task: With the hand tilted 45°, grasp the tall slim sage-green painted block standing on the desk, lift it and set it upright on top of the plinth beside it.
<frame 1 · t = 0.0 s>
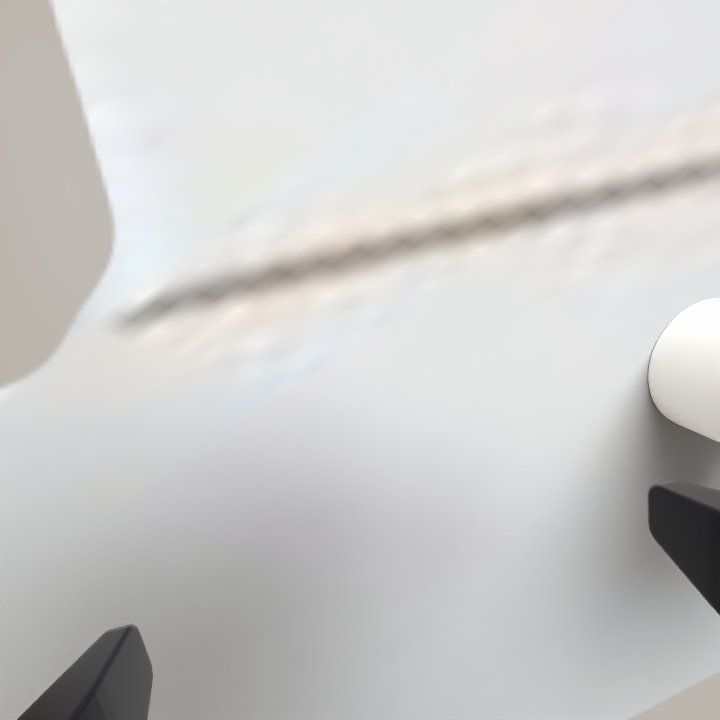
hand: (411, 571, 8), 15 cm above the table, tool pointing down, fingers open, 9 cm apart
cylindrical container: (704, 363, 26), on the table
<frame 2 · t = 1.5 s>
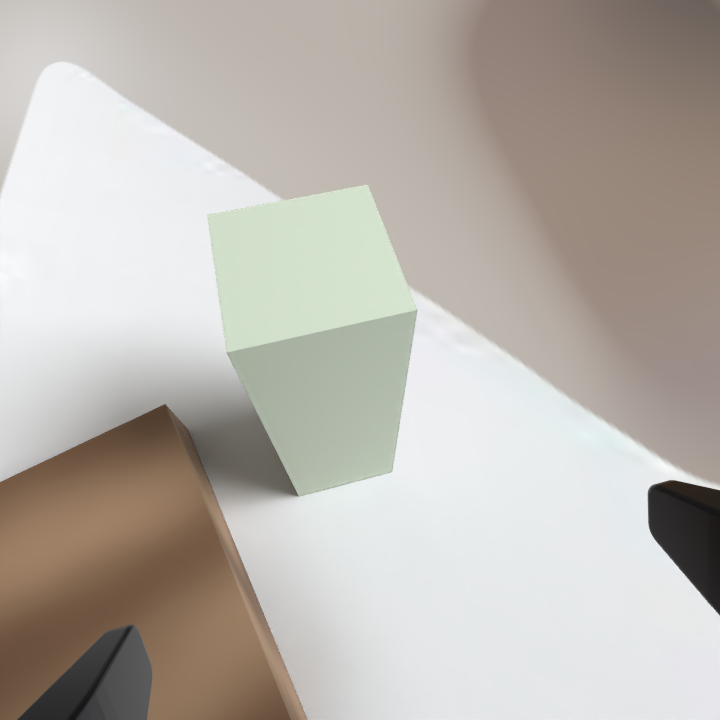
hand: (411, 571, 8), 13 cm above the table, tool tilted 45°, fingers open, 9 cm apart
block: (335, 439, 23), on the table
plinth: (140, 619, 20), on the table
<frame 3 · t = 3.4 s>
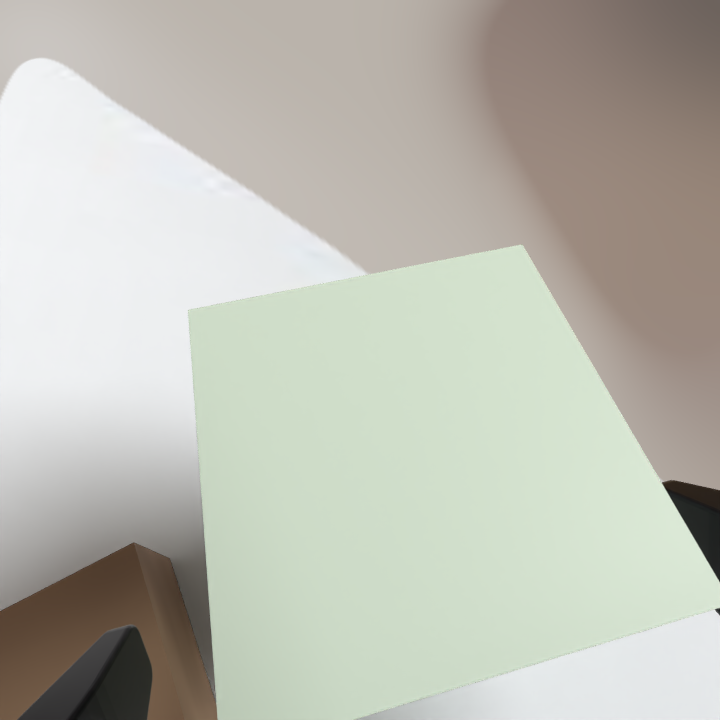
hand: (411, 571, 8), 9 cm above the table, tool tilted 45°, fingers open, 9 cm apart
block: (380, 579, 16), on the table
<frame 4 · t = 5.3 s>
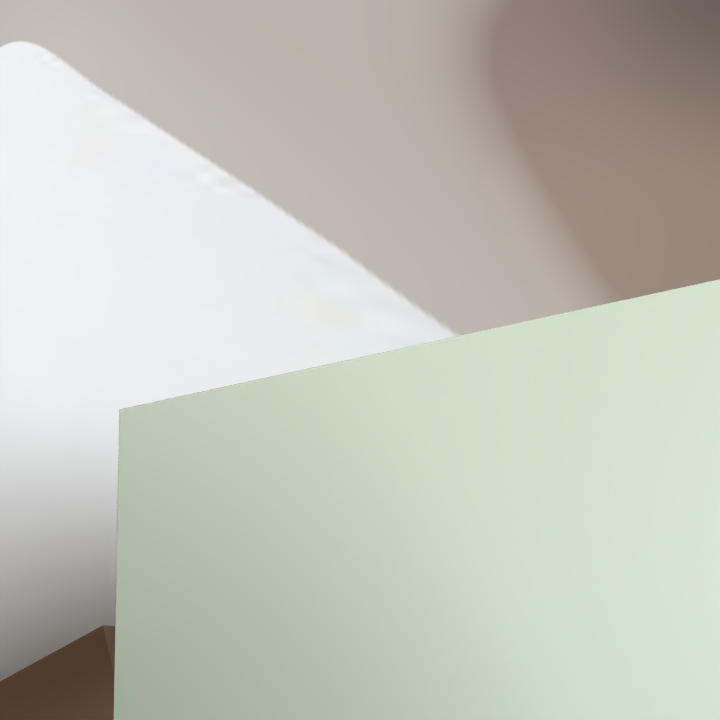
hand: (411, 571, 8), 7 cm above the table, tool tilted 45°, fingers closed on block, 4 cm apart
block: (405, 655, 13), on the table, touching gripper
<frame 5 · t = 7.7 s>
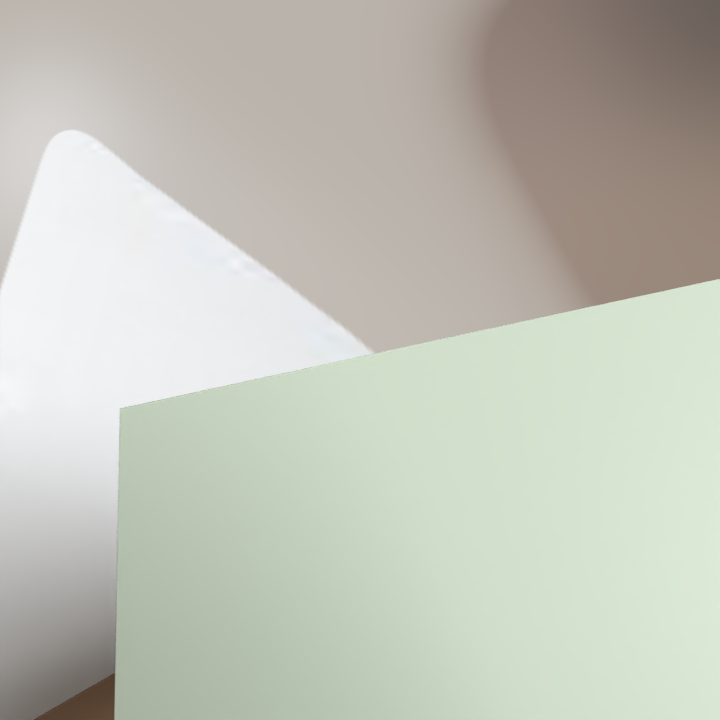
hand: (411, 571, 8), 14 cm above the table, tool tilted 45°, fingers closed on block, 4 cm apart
block: (405, 655, 13), point 6 cm above the table, touching gripper
when the fingers open (11 cm above the table, at t = 10.4 s): block stays where it is, resting on plinth.
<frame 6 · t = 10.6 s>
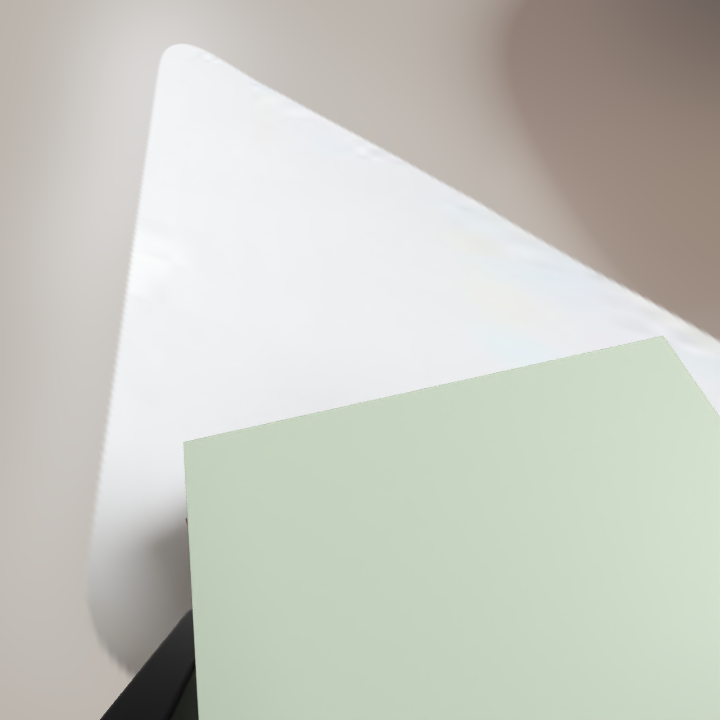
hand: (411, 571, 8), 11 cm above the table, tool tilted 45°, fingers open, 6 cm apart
block: (401, 653, 14), point 3 cm above the table, touching plinth
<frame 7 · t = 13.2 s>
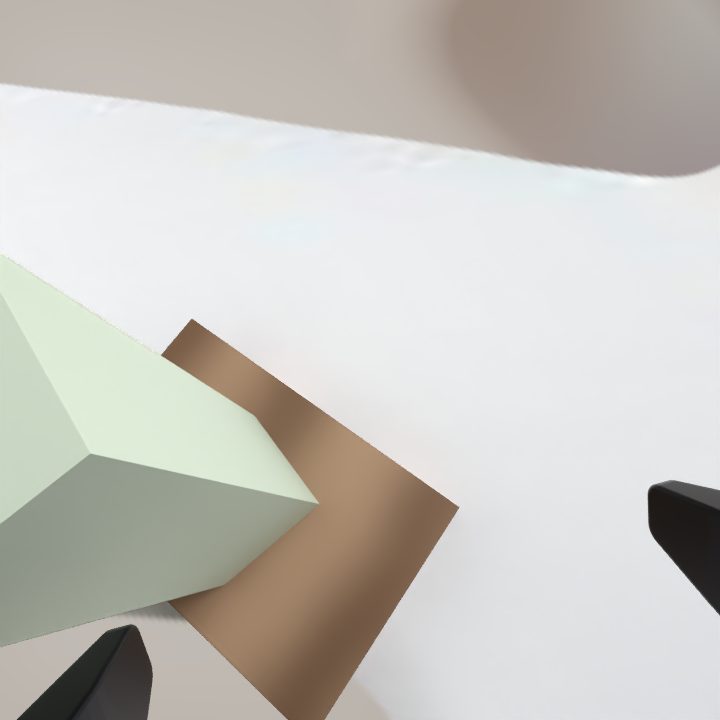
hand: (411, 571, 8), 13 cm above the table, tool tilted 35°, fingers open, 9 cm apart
block: (240, 495, 18), point 3 cm above the table, touching plinth
plinth: (266, 500, 21), on the table
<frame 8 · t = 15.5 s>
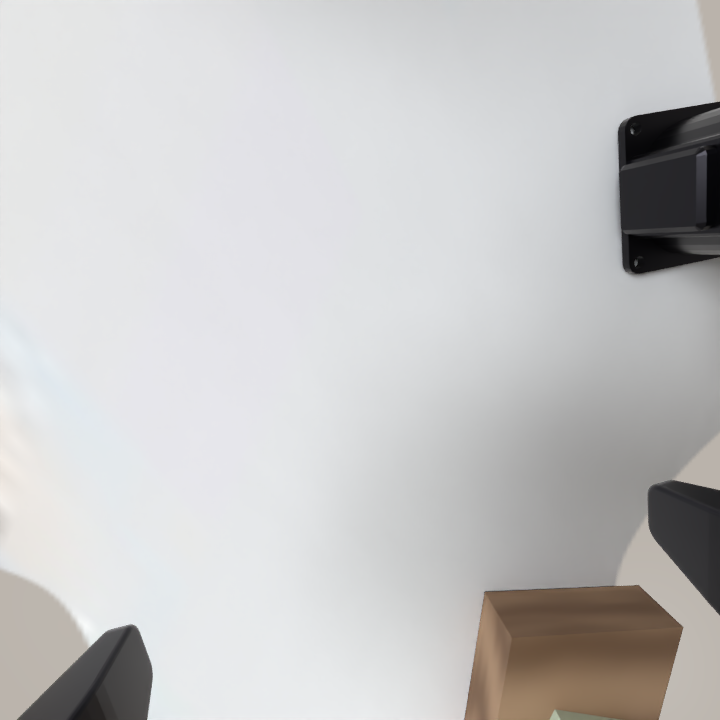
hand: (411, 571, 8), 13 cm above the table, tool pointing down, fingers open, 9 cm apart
plinth: (542, 696, 27), on the table
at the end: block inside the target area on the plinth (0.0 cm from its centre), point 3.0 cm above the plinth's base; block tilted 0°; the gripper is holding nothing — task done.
